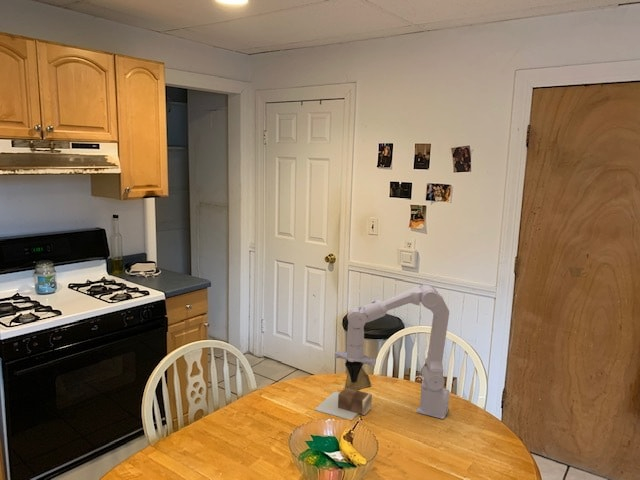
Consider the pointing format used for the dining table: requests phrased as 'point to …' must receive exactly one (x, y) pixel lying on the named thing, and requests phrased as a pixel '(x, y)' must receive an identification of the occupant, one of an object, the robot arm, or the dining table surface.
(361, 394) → the walnut block
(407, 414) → the dining table surface
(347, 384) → the rock
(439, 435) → the dining table surface
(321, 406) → the board
